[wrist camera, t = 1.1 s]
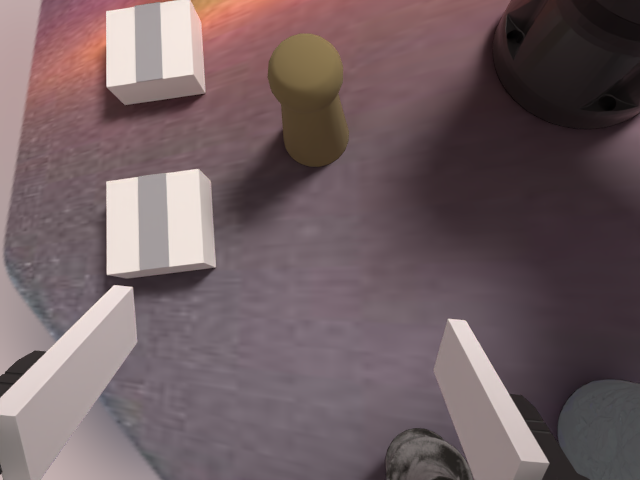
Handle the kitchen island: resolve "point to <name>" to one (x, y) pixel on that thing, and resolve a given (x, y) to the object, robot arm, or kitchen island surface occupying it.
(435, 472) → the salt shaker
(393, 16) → the kitchen island surface
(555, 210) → the kitchen island surface
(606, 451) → the grey cylindrical cup
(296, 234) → the kitchen island surface
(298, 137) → the cork
